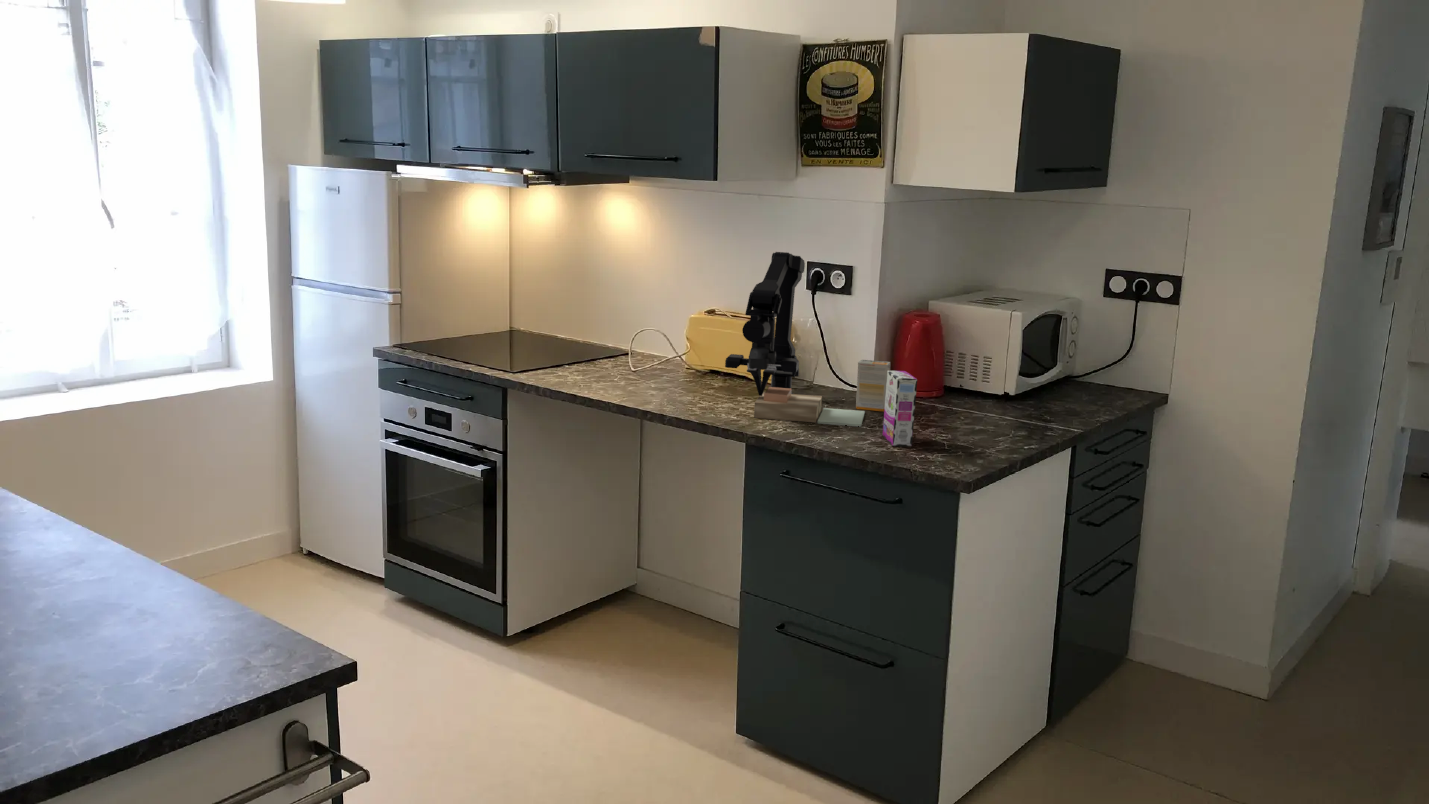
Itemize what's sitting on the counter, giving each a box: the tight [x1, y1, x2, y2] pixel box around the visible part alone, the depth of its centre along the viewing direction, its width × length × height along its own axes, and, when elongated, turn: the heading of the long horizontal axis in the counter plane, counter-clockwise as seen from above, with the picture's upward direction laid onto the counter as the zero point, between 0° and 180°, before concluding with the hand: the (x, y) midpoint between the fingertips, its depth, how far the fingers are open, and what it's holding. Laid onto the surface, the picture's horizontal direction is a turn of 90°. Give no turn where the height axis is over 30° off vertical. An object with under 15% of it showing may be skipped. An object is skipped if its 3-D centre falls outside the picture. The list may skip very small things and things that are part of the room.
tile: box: [764, 386, 792, 403], centre depth 292 cm, size 9×6×2 cm, turn 169°
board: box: [753, 391, 823, 423], centre depth 292 cm, size 14×16×4 cm
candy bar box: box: [882, 370, 918, 447], centre depth 266 cm, size 11×5×16 cm, turn 5°
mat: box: [817, 407, 866, 428], centre depth 290 cm, size 16×11×1 cm
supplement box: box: [855, 359, 891, 413], centre depth 300 cm, size 8×5×13 cm, turn 71°
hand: (760, 395), depth 293 cm, fingers closed
